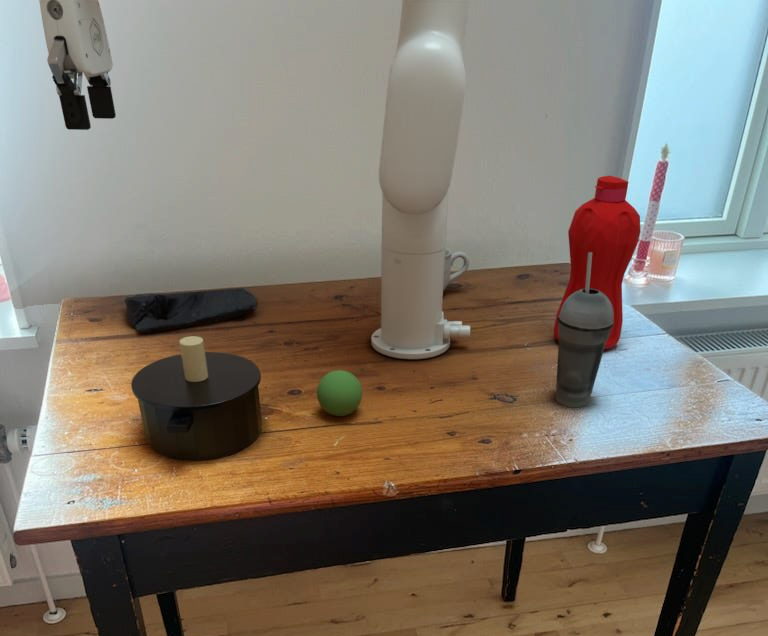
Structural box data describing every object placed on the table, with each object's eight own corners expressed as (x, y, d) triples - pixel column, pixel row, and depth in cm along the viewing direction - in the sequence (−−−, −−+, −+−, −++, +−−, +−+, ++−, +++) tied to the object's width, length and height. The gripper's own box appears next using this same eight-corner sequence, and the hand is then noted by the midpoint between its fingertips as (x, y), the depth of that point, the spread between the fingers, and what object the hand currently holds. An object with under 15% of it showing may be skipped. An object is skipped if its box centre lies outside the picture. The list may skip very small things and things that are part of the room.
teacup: (387, 301, 137) (388, 256, 132) (396, 282, 145) (397, 239, 141) (464, 306, 135) (467, 261, 130) (468, 286, 143) (471, 244, 139)
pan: (273, 397, 105) (269, 350, 101) (245, 474, 89) (239, 422, 85) (170, 394, 105) (162, 347, 101) (123, 470, 89) (111, 418, 85)
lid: (271, 361, 99) (267, 318, 96) (247, 417, 87) (242, 369, 83) (154, 358, 100) (146, 315, 97) (114, 413, 87) (104, 366, 84)
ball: (364, 403, 104) (363, 363, 100) (360, 424, 99) (360, 383, 95) (320, 402, 104) (318, 362, 100) (315, 423, 99) (313, 381, 96)
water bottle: (635, 346, 121) (670, 179, 106) (580, 358, 117) (609, 186, 102) (597, 326, 127) (626, 167, 113) (544, 337, 123) (567, 173, 109)
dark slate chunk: (264, 322, 128) (262, 294, 125) (131, 337, 122) (125, 309, 119) (248, 292, 140) (246, 267, 137) (125, 305, 134) (120, 279, 131)
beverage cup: (568, 416, 101) (593, 267, 89) (535, 394, 106) (554, 251, 95) (609, 405, 104) (639, 259, 92) (575, 384, 109) (599, 243, 97)
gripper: (64, -29, 87) (96, 134, 97) (115, -28, 101) (138, 114, 111) (1, -30, 87) (39, 133, 97) (60, -29, 101) (88, 114, 111)
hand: (92, 123), depth 104 cm, fingers open, 9 cm apart
